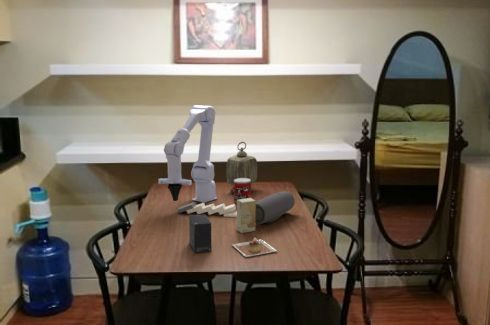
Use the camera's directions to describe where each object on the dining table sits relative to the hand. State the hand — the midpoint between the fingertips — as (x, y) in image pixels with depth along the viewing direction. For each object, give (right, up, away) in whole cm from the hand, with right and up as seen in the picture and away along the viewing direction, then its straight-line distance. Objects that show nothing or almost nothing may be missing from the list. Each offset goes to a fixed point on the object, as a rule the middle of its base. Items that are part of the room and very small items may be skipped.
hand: (175, 200), depth 208 cm
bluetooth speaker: (+41, -7, -10) cm, 43 cm away
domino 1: (+2, -4, 0) cm, 5 cm away
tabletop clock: (+29, +2, +32) cm, 43 cm away
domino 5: (+19, -5, -3) cm, 20 cm away
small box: (+14, -14, -39) cm, 44 cm away
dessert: (+33, -14, -41) cm, 55 cm away
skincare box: (+30, -10, -23) cm, 39 cm away
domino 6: (+21, -6, -4) cm, 23 cm away
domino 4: (+15, -5, -2) cm, 16 cm away
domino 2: (+6, -4, 0) cm, 7 cm away
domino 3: (+10, -5, -1) cm, 11 cm away
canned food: (+29, -2, +12) cm, 31 cm away
